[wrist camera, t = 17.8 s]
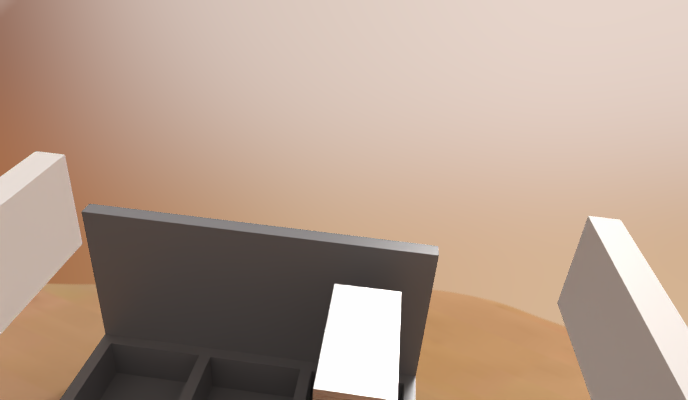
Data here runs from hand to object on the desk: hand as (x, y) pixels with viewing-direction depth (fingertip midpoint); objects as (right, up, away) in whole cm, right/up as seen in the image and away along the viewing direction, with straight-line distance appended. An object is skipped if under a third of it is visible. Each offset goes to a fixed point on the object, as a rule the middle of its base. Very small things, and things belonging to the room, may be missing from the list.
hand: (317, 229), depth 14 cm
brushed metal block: (+1, -17, +21) cm, 27 cm away
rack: (-6, -16, +22) cm, 28 cm away
